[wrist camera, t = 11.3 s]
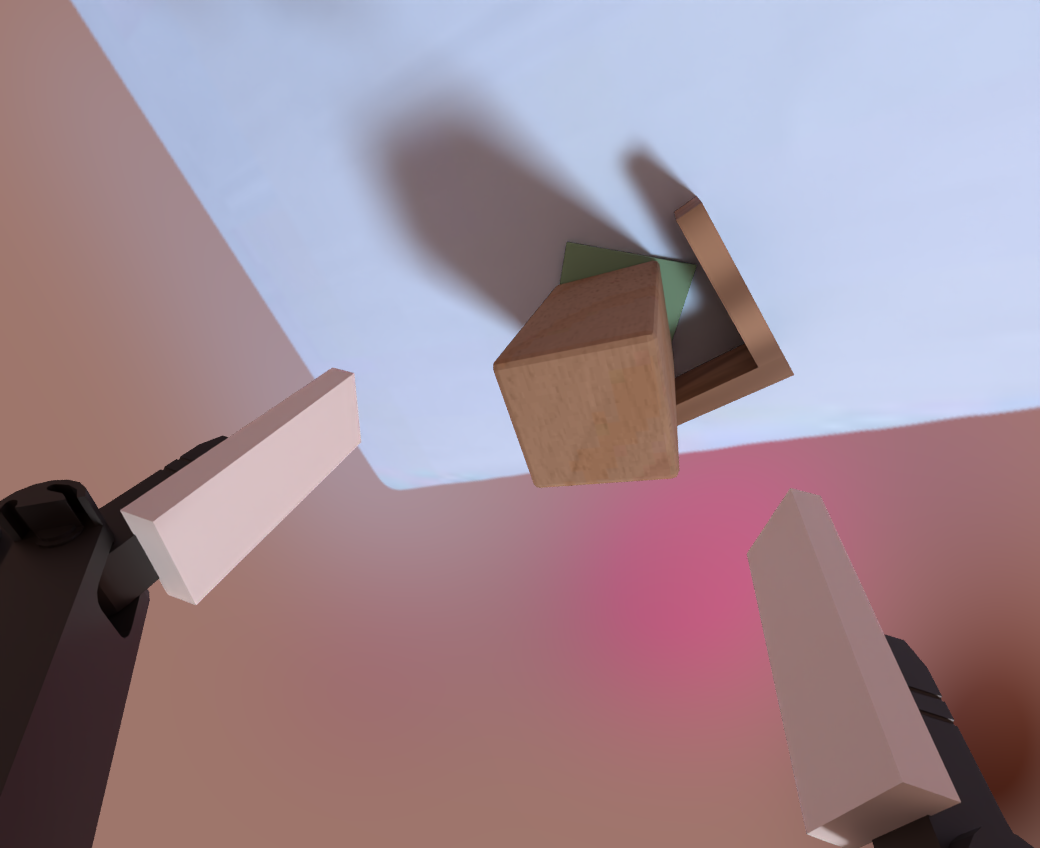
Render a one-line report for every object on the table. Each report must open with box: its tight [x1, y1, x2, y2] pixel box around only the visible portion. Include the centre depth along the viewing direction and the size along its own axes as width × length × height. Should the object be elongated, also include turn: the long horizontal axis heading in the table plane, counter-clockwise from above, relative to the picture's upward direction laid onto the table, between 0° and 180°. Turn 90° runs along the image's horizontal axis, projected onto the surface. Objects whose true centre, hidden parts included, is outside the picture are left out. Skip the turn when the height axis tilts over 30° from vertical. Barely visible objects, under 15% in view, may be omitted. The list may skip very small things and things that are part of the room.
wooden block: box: [493, 261, 679, 488], centre depth 35 cm, size 10×10×20 cm
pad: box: [560, 242, 697, 342], centre depth 43 cm, size 12×12×1 cm
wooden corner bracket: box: [674, 196, 794, 426], centre depth 41 cm, size 16×20×6 cm
